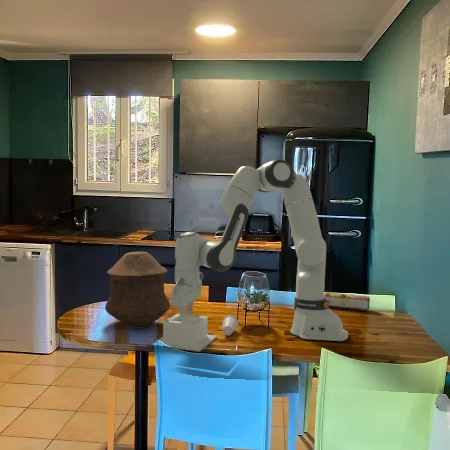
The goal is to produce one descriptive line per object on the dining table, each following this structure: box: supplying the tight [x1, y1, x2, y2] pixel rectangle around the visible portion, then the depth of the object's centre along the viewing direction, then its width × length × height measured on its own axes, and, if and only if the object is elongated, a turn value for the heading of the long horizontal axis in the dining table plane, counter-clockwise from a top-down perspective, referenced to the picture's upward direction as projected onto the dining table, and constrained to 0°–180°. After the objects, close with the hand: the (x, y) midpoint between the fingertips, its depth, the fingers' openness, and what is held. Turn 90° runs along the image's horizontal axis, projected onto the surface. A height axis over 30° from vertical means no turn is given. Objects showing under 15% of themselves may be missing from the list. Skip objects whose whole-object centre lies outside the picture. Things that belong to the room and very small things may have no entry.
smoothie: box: [221, 314, 239, 336], centre depth 204 cm, size 6×6×14 cm
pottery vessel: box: [104, 251, 171, 328], centre depth 208 cm, size 26×26×30 cm
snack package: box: [324, 291, 371, 311], centre depth 251 cm, size 21×7×7 cm
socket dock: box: [151, 313, 218, 352], centre depth 191 cm, size 18×18×9 cm
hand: (186, 314), depth 190 cm, fingers open, 5 cm apart
